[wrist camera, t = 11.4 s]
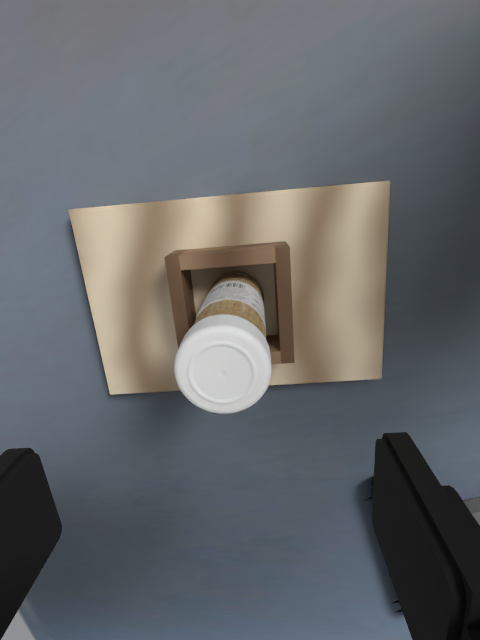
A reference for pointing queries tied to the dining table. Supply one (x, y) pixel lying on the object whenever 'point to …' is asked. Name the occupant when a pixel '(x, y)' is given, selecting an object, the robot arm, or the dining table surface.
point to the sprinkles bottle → (226, 348)
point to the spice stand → (248, 257)
